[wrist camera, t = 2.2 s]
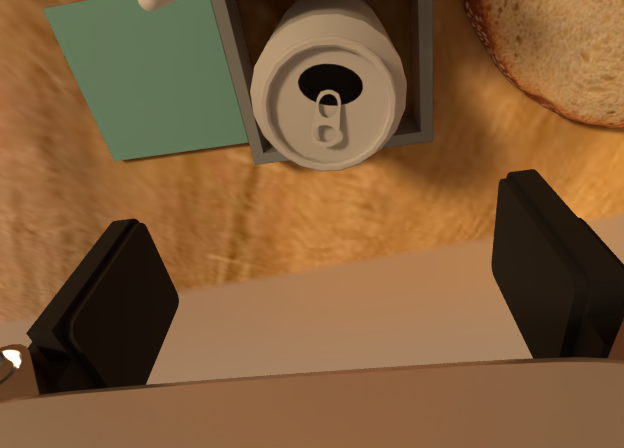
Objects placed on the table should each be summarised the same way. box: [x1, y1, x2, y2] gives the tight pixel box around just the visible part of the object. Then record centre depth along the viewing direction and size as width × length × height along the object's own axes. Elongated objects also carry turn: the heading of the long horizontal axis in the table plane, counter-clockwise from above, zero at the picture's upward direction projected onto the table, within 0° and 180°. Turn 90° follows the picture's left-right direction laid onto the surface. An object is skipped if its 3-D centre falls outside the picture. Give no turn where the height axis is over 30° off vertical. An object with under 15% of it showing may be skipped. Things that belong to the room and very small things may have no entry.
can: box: [250, 0, 407, 171], centre depth 24 cm, size 8×8×12 cm
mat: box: [43, 0, 249, 161], centre depth 30 cm, size 11×11×1 cm
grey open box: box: [138, 0, 433, 165], centre depth 23 cm, size 13×14×13 cm
